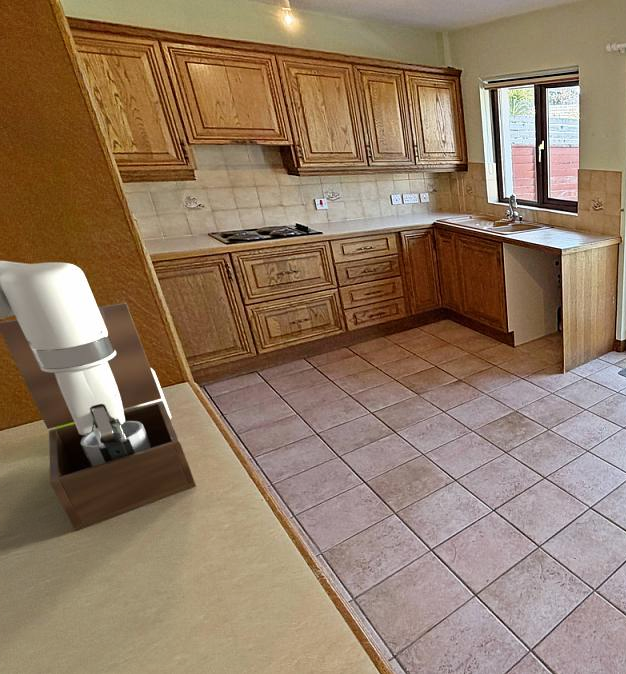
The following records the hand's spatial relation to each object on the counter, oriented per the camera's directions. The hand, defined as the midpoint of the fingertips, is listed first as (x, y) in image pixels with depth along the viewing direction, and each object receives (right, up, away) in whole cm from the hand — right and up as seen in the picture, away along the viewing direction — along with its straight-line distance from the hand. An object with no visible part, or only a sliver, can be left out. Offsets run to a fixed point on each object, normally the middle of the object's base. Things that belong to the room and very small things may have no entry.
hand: (121, 453), depth 74 cm
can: (-12, +1, +18) cm, 21 cm away
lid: (-7, +14, +1) cm, 15 cm away
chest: (-2, -5, +3) cm, 7 cm away
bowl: (0, -1, 0) cm, 1 cm away
